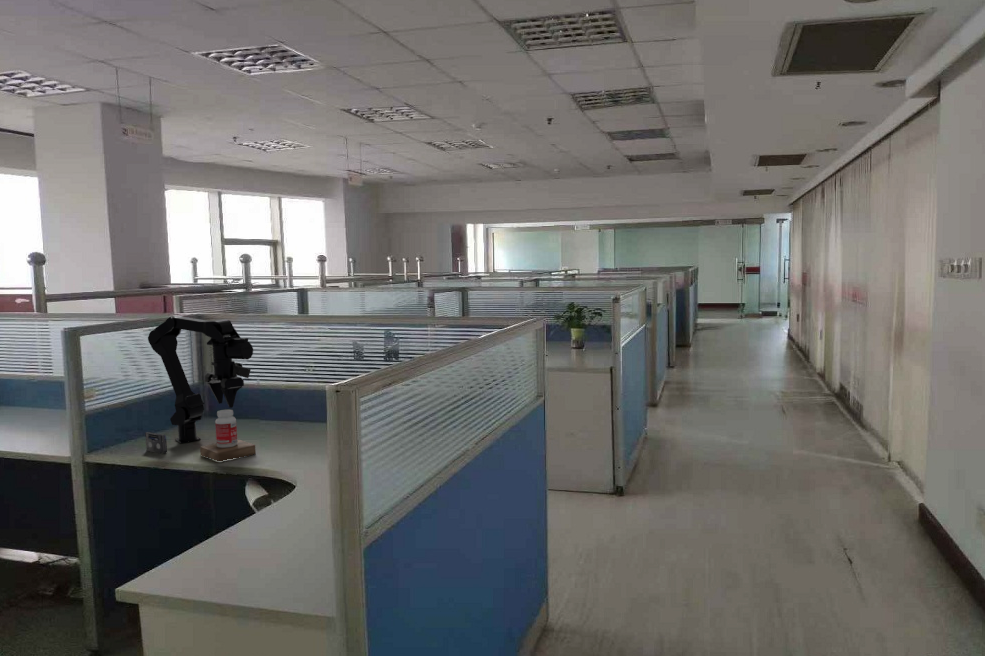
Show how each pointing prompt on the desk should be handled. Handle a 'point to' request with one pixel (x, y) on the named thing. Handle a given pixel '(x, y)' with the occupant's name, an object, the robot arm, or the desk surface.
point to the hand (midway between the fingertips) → (225, 405)
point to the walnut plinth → (228, 451)
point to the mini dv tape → (156, 442)
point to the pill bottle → (226, 429)
